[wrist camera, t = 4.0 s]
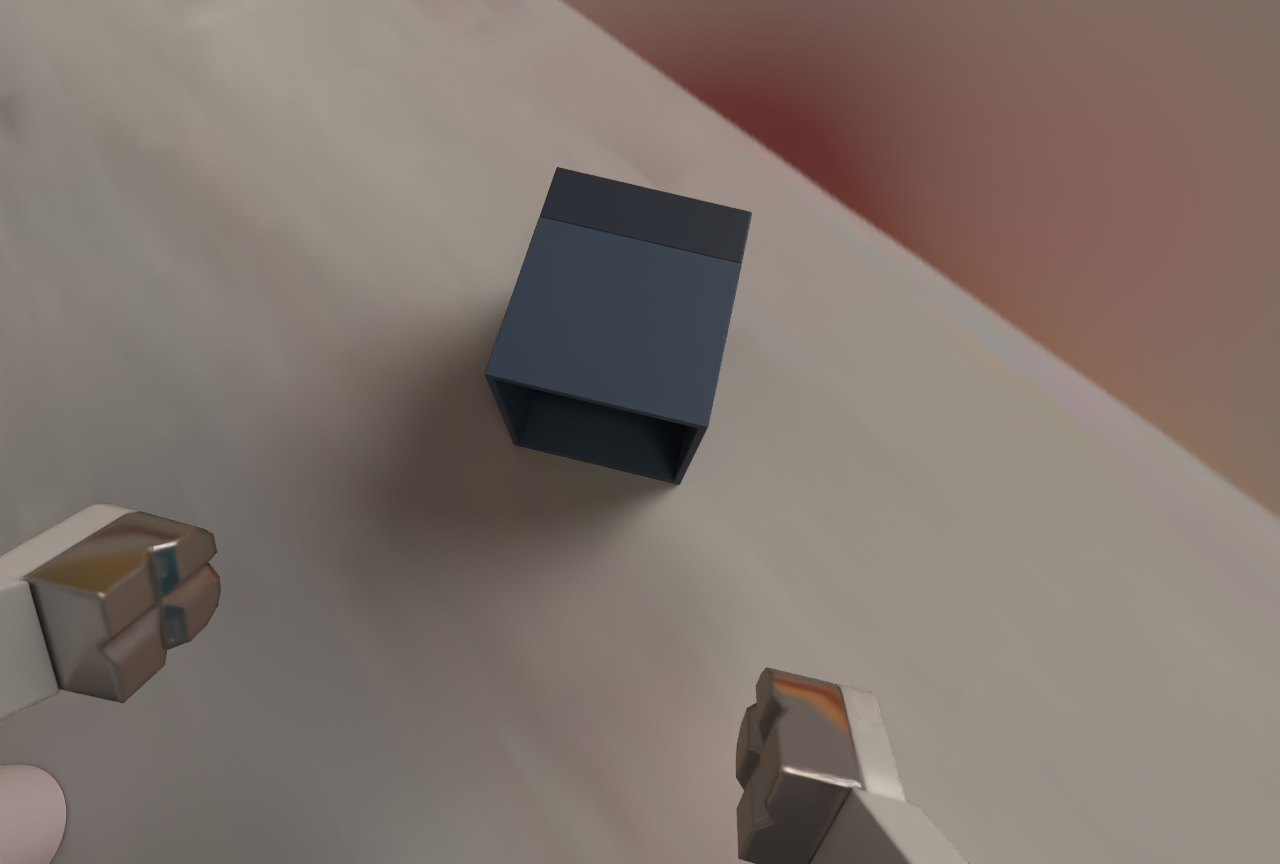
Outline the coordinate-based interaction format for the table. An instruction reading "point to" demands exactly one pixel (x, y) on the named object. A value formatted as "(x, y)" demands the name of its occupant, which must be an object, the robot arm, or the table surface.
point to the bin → (618, 325)
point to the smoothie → (30, 815)
